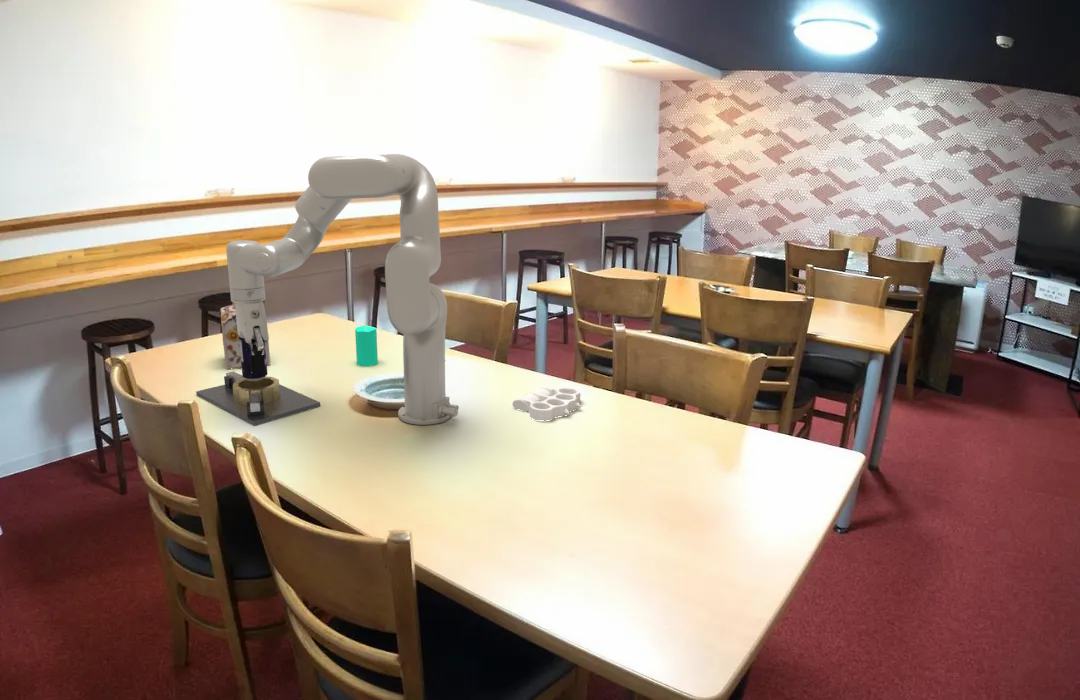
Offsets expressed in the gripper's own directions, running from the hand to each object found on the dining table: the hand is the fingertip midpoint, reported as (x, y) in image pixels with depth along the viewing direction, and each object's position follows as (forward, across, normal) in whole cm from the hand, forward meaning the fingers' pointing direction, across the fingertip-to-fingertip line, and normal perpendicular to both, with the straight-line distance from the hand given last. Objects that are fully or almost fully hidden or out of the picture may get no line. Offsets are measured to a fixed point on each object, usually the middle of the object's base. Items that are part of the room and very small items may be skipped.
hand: (254, 366), depth 169 cm
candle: (+9, +14, -35) cm, 38 cm away
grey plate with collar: (+9, 0, 0) cm, 9 cm away
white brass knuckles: (+9, -43, -58) cm, 73 cm away
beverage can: (+3, 0, 0) cm, 3 cm away
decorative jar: (+9, +33, -6) cm, 35 cm away
